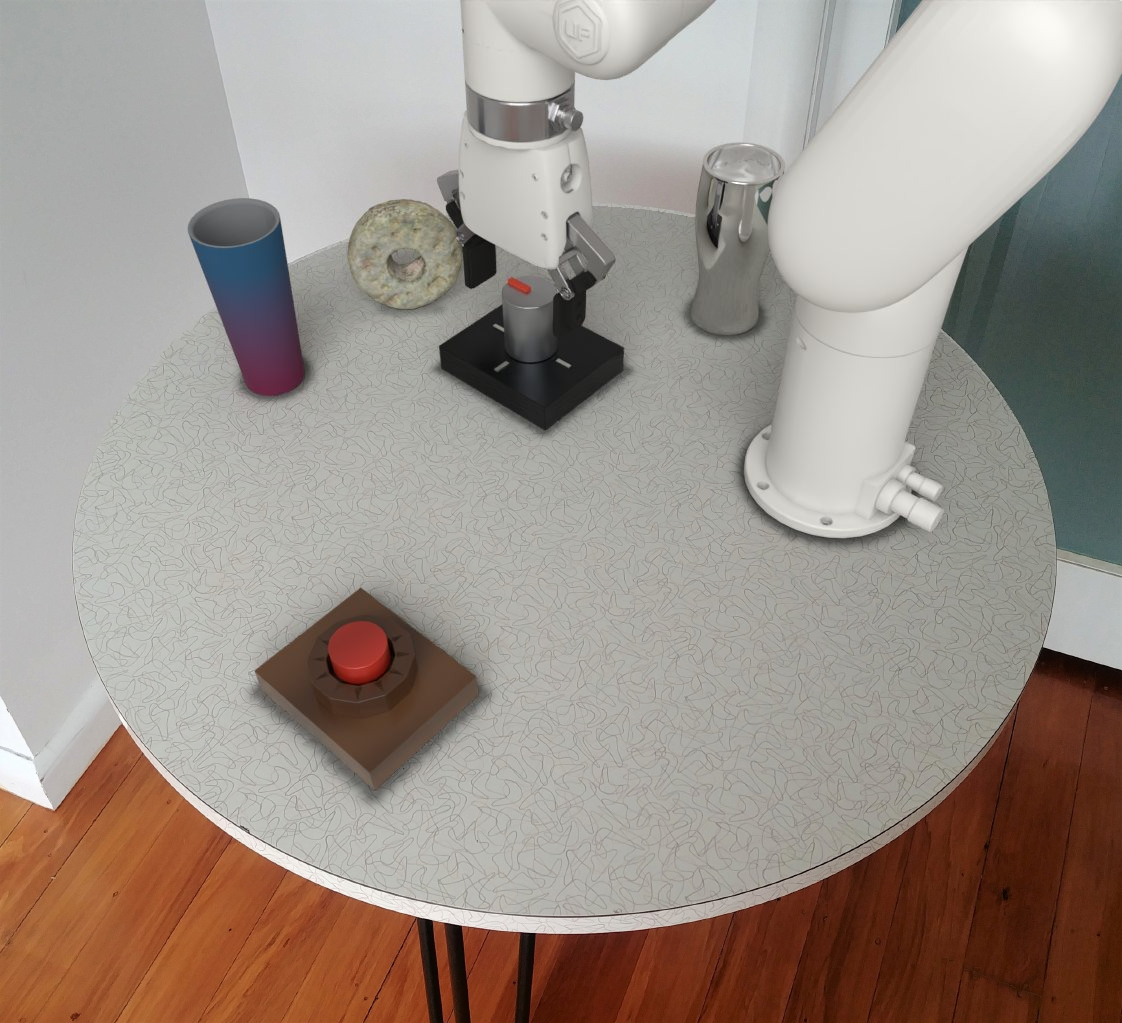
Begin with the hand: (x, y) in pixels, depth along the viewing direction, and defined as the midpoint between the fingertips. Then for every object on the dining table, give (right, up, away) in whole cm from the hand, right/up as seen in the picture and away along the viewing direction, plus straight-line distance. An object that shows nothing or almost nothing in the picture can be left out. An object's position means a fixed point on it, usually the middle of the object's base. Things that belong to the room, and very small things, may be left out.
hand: (523, 304), depth 86 cm
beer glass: (+18, +1, +10) cm, 20 cm away
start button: (-9, -26, -20) cm, 34 cm away
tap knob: (0, -3, +3) cm, 4 cm away
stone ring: (-11, +2, +12) cm, 16 cm away
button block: (-9, -29, -17) cm, 35 cm away
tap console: (+1, -5, +5) cm, 7 cm away
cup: (-21, -5, +4) cm, 23 cm away
